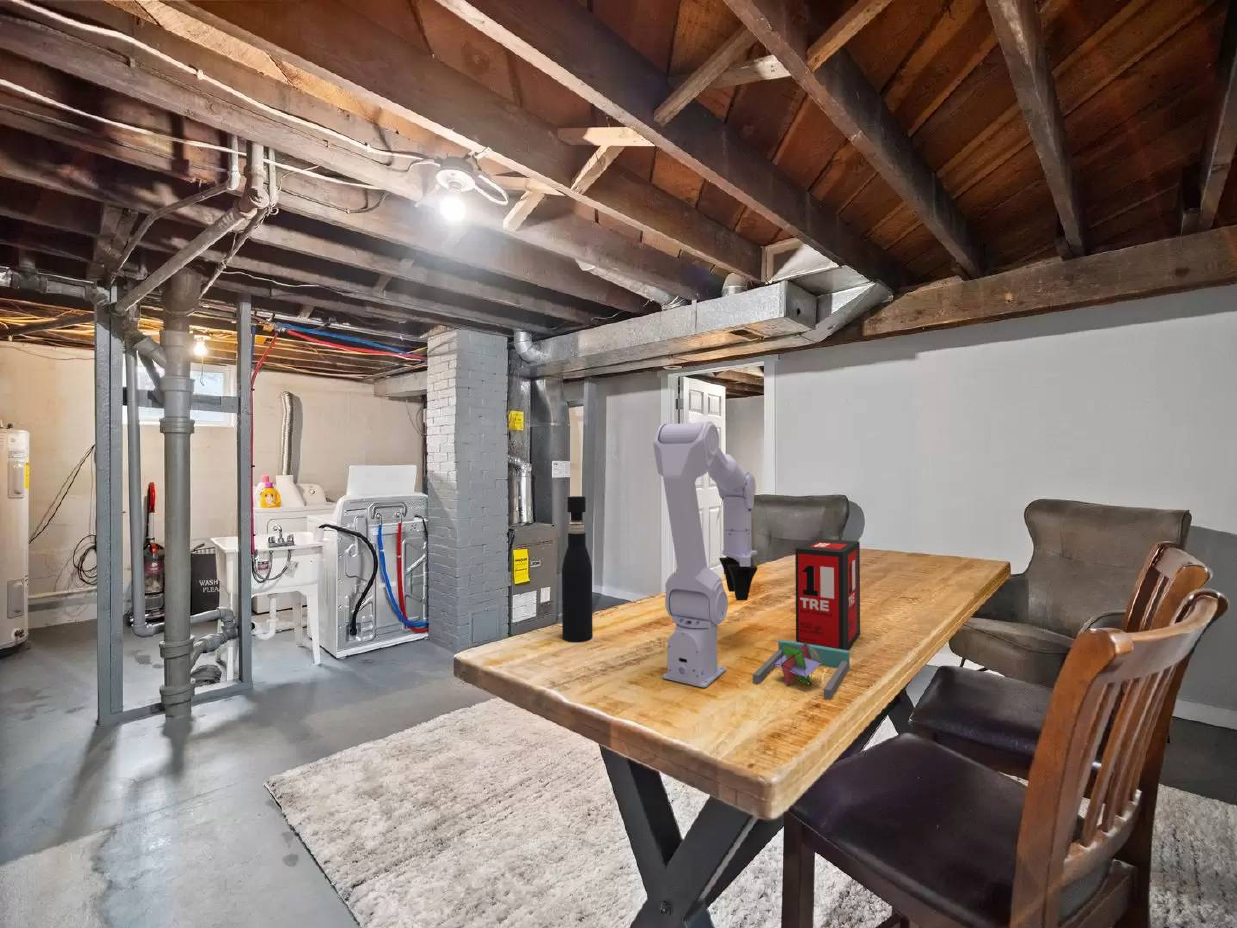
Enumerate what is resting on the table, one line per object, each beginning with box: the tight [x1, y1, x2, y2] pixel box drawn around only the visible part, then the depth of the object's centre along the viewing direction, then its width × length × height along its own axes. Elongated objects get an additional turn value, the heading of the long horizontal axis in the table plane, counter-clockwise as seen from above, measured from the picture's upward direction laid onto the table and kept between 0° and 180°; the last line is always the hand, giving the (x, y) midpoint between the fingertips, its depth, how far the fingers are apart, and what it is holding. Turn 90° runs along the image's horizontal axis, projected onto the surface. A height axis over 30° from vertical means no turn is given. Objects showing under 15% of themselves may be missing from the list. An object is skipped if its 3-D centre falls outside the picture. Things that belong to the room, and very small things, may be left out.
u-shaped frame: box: [752, 638, 851, 701], centre depth 96 cm, size 16×12×3 cm
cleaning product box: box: [794, 538, 861, 651], centre depth 113 cm, size 16×9×20 cm, turn 146°
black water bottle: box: [561, 495, 593, 643], centre depth 117 cm, size 6×6×30 cm
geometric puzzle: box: [773, 643, 822, 687], centre depth 92 cm, size 7×7×8 cm
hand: (737, 595), depth 114 cm, fingers open, 7 cm apart
